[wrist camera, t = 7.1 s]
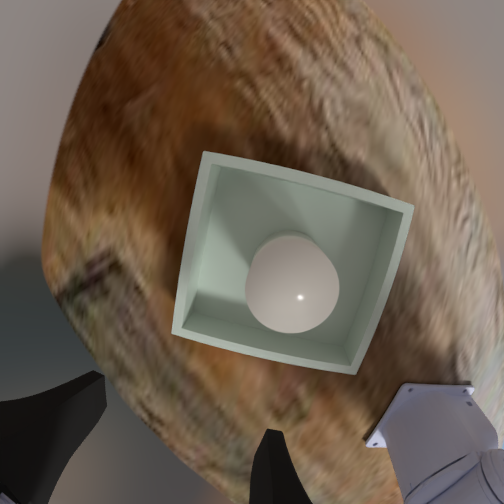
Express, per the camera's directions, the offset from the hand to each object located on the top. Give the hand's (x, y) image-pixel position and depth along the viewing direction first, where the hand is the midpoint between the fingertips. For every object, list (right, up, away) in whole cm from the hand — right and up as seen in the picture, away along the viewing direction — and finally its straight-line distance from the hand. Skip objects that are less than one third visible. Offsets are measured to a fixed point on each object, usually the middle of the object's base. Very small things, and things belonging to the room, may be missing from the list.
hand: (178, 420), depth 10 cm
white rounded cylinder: (+5, +6, +8) cm, 11 cm away
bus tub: (+5, +6, +8) cm, 12 cm away
